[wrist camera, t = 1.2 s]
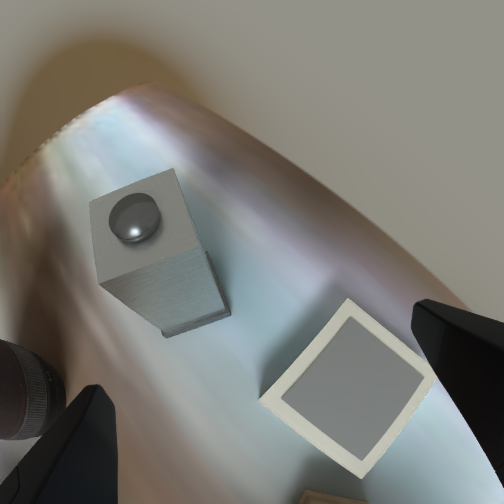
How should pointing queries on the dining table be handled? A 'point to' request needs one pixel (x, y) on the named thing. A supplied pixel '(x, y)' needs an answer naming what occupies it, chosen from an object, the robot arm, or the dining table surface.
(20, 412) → the camera lens
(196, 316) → the housing
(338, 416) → the stand
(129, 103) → the dining table surface
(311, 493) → the walnut block
